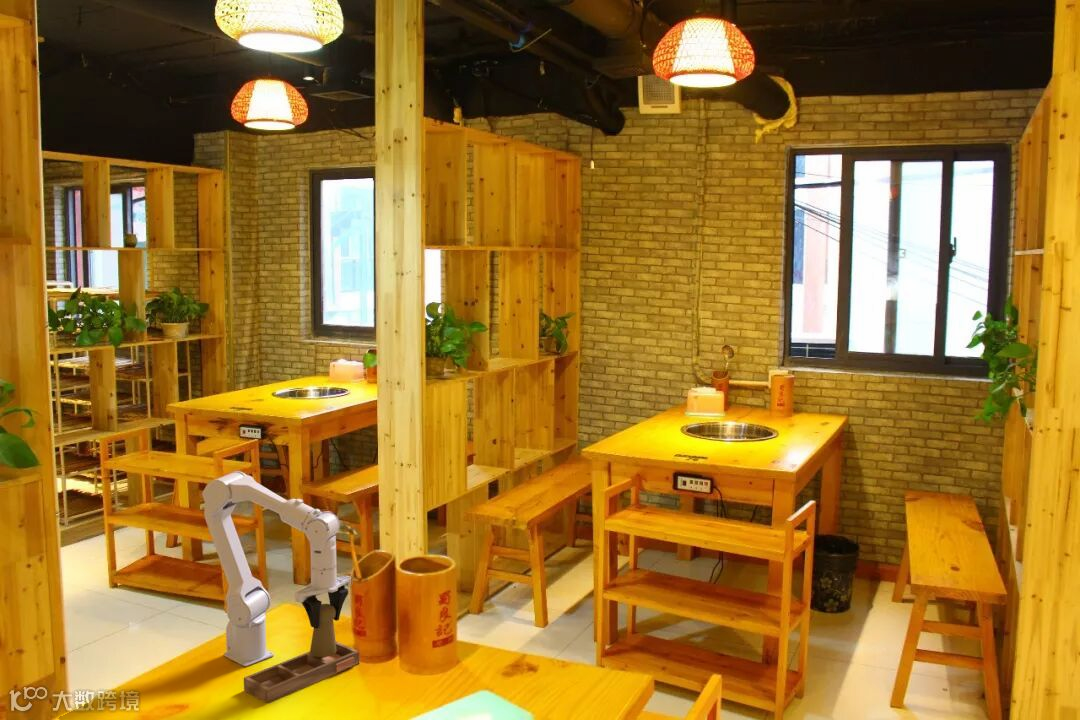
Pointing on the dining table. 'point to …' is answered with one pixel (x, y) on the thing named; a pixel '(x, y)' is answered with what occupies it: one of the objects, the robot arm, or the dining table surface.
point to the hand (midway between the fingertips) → (324, 623)
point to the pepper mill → (324, 633)
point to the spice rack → (298, 673)
